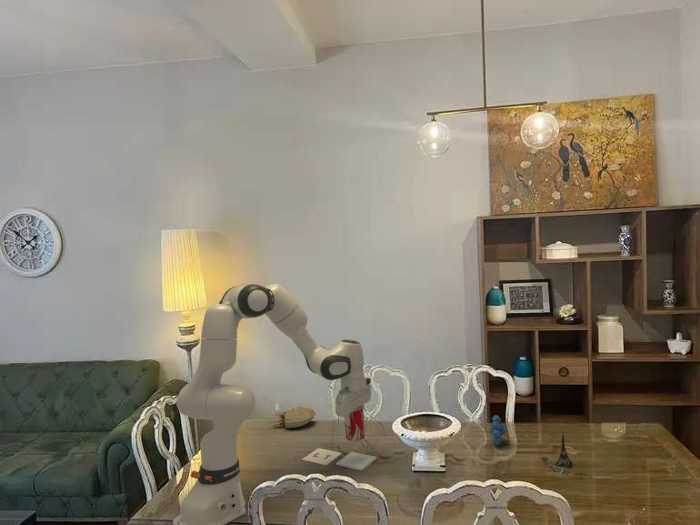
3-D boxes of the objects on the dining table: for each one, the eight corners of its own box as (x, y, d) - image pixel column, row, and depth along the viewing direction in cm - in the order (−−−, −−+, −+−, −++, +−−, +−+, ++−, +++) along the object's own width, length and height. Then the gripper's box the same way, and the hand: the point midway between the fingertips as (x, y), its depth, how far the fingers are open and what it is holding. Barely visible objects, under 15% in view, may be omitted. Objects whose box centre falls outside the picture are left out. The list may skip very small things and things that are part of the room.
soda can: (363, 443, 183) (361, 411, 182) (343, 442, 184) (342, 410, 183) (366, 435, 190) (364, 404, 189) (347, 434, 191) (346, 403, 190)
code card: (326, 465, 185) (326, 464, 185) (301, 459, 191) (301, 459, 190) (342, 453, 194) (342, 453, 194) (318, 448, 200) (318, 448, 200)
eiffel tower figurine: (538, 458, 184) (537, 422, 183) (566, 456, 184) (565, 420, 184) (558, 477, 169) (557, 438, 168) (587, 475, 169) (586, 436, 169)
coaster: (362, 470, 179) (362, 469, 179) (336, 464, 185) (336, 463, 185) (376, 458, 189) (376, 457, 189) (351, 453, 194) (351, 451, 194)
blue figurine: (509, 452, 189) (508, 420, 188) (490, 451, 191) (489, 419, 190) (508, 439, 200) (507, 410, 199) (490, 438, 202) (489, 409, 201)
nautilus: (266, 434, 219) (270, 424, 234) (315, 428, 219) (316, 418, 234) (264, 416, 219) (268, 407, 234) (313, 410, 219) (314, 401, 234)
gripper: (345, 392, 175) (347, 431, 176) (373, 377, 193) (374, 412, 193) (330, 390, 178) (331, 429, 179) (358, 375, 196) (360, 410, 197)
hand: (354, 420), depth 186 cm, fingers closed on soda can, 7 cm apart
